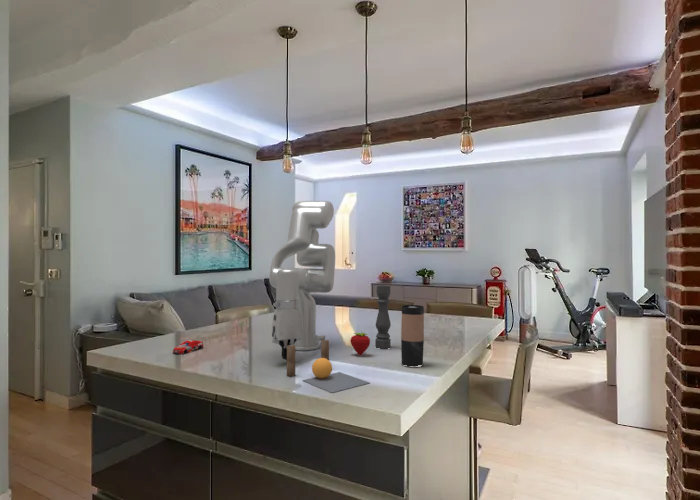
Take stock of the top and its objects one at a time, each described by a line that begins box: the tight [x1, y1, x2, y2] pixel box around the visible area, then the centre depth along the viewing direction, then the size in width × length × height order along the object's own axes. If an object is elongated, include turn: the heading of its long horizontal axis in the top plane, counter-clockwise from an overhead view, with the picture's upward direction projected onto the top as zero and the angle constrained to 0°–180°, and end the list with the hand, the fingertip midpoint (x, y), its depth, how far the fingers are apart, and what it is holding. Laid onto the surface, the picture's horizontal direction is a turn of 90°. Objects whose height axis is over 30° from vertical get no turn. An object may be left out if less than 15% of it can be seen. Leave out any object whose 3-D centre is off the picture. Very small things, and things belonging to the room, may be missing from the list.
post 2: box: [320, 339, 330, 361], centre depth 136 cm, size 3×3×9 cm
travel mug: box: [400, 304, 425, 366], centre depth 142 cm, size 8×8×20 cm
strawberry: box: [350, 332, 371, 356], centre depth 154 cm, size 6×8×10 cm
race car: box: [172, 339, 204, 355], centre depth 158 cm, size 13×5×4 cm, turn 158°
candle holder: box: [374, 284, 392, 350], centre depth 168 cm, size 6×6×25 cm
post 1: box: [286, 345, 296, 377], centre depth 127 cm, size 3×3×9 cm
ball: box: [311, 357, 333, 379], centre depth 125 cm, size 6×6×6 cm
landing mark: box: [302, 371, 371, 394], centre depth 121 cm, size 14×14×1 cm
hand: (286, 358), depth 142 cm, fingers closed
